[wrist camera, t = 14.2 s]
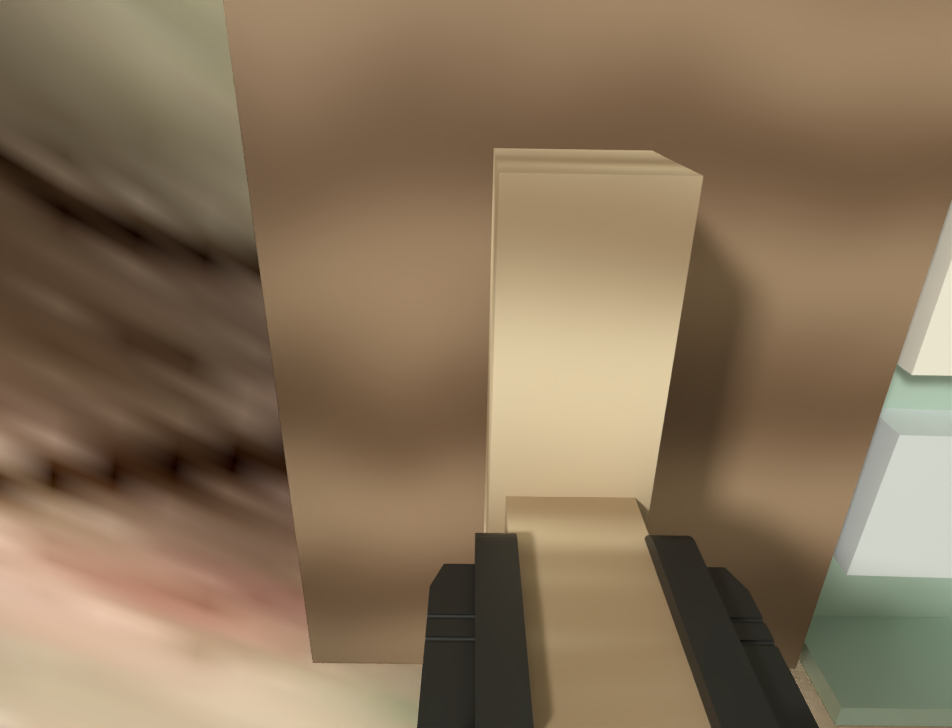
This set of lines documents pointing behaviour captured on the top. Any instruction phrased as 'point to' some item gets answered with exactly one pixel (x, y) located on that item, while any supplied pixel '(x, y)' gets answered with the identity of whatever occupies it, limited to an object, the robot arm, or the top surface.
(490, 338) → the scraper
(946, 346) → the cream tile
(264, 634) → the top surface
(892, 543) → the grey tile
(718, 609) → the robot arm
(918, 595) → the box
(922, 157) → the walnut plate
